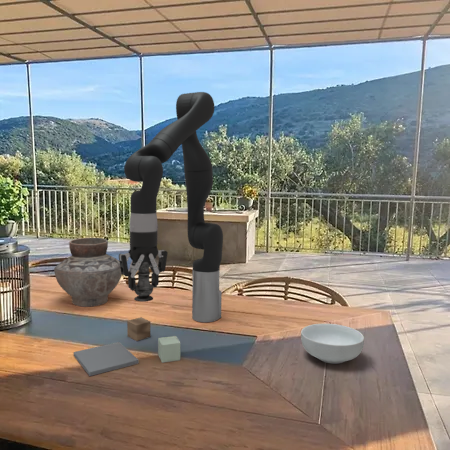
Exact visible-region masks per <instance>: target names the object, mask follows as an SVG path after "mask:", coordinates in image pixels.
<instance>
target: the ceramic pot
mask: <svg viewBox="0 0 450 450" xmlns="http://www.w3.org/2000/svg"><path fill="white" fill-rule="evenodd" d="M108 243H109V241H108V239H107V238H103V237H102V238H101V237H84V238H83V237H81V238H74V239H71V240H69V244H68V245H69V251H70V253H71V255H70V256H68V257H67V258H65V259H64V260H62V261H61V262H60V263H58V264H57V265H55V267H54V268H53V271H54V276H55V279H56V281H57V283H58V285H59V286H60V288H61V289H62V290H63V291H64V292H65V293H67V294H68V295H69V297H71V303H72V305H75V306H78V307H84V308H86V307H87V308H88V307H89V308H90V307H97V306H102V305H105V304H106V303H107V302H108V299H109V294H111V293H112V292H113V291H114V289H115V288H116V287H117V285H118V284H119V282H120V281H121V277H122V276H123V275H122V274H121V269H120V262H119V259H117V258H115V257H114V256H112V255H111V254H110V255H109V254H107V251H108Z"/></svg>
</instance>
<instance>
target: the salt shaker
mask: <svg viewBox="0 0 450 450" xmlns="http://www.w3.org/2000/svg"><path fill="white" fill-rule="evenodd" d="M136 274H137V276H138V280H137V284H136V290H135V291H134V293H135V294H136V295H137V296H134V299H133V300H134V301H135V302H140V303H141V302H142V303H144V302H151V301H153V300H154V297H153V296H152V293H153V291H154V289H155V288H154V285H152V284H151V282H150V275H151V272H150V267H149V264H148V263H147V262H144V263H143V265H142V266H140V267H139V269H138V271H137V272H136Z"/></svg>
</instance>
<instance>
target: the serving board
mask: <svg viewBox="0 0 450 450" xmlns="http://www.w3.org/2000/svg"><path fill="white" fill-rule="evenodd" d="M73 357H74V358H75V359H76V360H77V362H78V363H79V365H80V366H81V367H82V368H83V370H84V371H85V372H86V374H87V375H88V377H92V376H97V375H100V374H104V373H107V372H111V371H115V370H118V369H119V370H120V369H124V368H126V367H130V366H134V365H138V364H140V363H139V362H140V361H139V359H138V358H137V357H136V355H134V354H133V353H132V352H131V351H129V349H128V348H126V346H124V345H123V344H122V343H121V342H120V341H118V342H117V341H116V342H113V343H108V344H103V345H100V346H94V347H90V348H86V349H82V350H77V351H73Z"/></svg>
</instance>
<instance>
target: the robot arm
mask: <svg viewBox="0 0 450 450" xmlns="http://www.w3.org/2000/svg"><path fill="white" fill-rule="evenodd" d="M175 102H176V103H175V113H176V119H177V120H175V121H173V122H172V123H170V124H168V125H166V126H165V127H164V128H162V129H161V130H160V131H159V132H158V133H157V134H156V135H154V137H153V138H152V139H151V140H150V141H149V142H148V144H146V145H144V146H142V147H141V148H139V149H138V150H137V151H135V152H134V153H132V154H131V155H130V156H129V157H128V158H127V160H126V161H125V164H124V166H123V167H124V168H123V169H124V175H125V176H126V178H127V179H128V180H129V181H131V182H135V183H136V182H137V183H142V185H141V187H140V189H139V190H136V191H133V192H132V193H131V195H130V214H129V217H130V218H129V250H128V252H127V253H119V254H118V260H119V262H120V269H121V274H122V276H124V277H127V286H128V289H130V291H132V292H135V290H136V285H137V284H136V283H137V281H136V280H137V279H136V277H135V276H136V274H137V273H138V271H139V267H140V266H142V265H143V263H144V262H147V263H148V264H149V269H150V270H151V272H152V273H150V276H151V278H150V279H151V282H150V284H152V285H154V288H153V289H155V288H158V285H159V284H160V283H159V281H160V280H159V279H160V277H159V276H160V274H161V273H163V272H165V271H166V265H167V260H168V259H167V258H168V253H169V252H168V251H167V250H164V249H160V250H159V249H158V228H159V227H158V225H159V224H158V215H157V214H158V213H157V207H158V206H157V205H158V204H157V202H158V201H157V199H158V196H159V192H160V187H161V183H162V181H163V180H162V179H163V175H164V168H163V163H166V162H167V161H168V160H169V159H171V157H172V156H173V155H174V154H175V152H176V151H177V150H178V149H179V148H180V146H181V147H182V158H183V159H182V160H183V171H184V181H185V182H184V183H185V189H186V190H185V191H186V203H187V204H186V205H187V240H188V243H189V245H190V246H191V247H192V248H194V249H197V250H203V256H202V257H200V258H197V259H195V260H193V262H192V286H191V287H192V294H191V295H192V298H191V299H192V301H191V303H192V304H191V305H192V306H191V310H192V311H191V314H192V316H191V317H192V320H194V321H196V322H199V323H211V322H216V321H218V320H219V319H221V318H222V291H221V290H220V274H221V273H220V270H221V269H220V268H221V267H220V266H221V262H222V258H223V246H224V233H223V229H222V227H221V225H219V224H217V223H212V222H206V221H205V207H206V206H205V205H206V202H207V200H208V198H209V196H210V193H211V191H212V189H213V185H214V173H213V172H214V171H213V164H212V160H211V157H209V155H208V154H207V152H206V150H205V149H204V147H203V145H202V144H201V143H200V140H199V139H198V138H199V137H198V135H197V131H198V129H200V128H201V127H203V126H204V125H205V124H207V123H208V122H209V121H210V120H211V119H212V118H213V116H214V113H215V101H214V98H213V97H212V95H211V94H209V93H208V92H205V91H196V92H189V93H188V92H187V93H182V94H180V95H179V96H177V99H176V101H175ZM157 257H158V262H156V258H157ZM129 258H130V259H131V263H130V264H129V267H128V262H129ZM157 263H158V264H157Z"/></svg>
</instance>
